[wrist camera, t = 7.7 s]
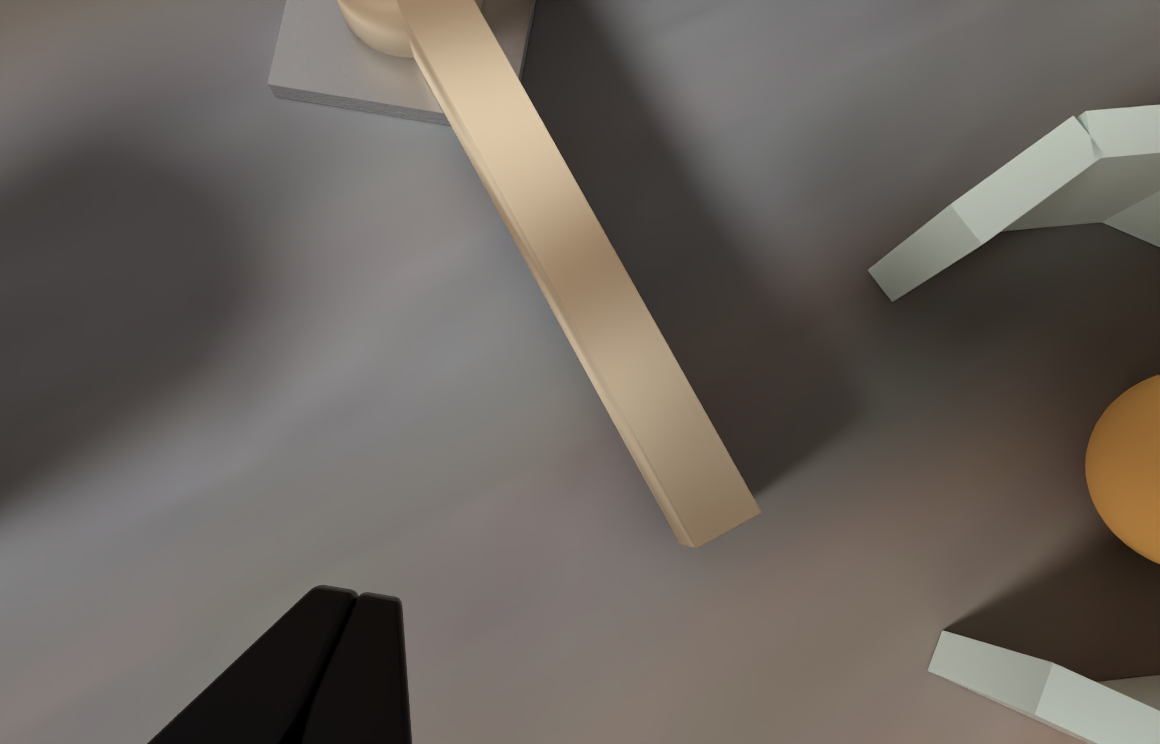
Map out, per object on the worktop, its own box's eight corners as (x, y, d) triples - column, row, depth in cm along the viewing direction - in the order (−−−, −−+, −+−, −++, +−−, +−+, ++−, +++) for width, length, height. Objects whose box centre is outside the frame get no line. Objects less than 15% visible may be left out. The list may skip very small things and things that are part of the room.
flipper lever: (313, -39, 24) (-32, -832, 10) (571, -161, 24) (593, -1065, 10) (640, 567, 21) (794, 657, 8) (912, 415, 22) (1502, 247, 8)
